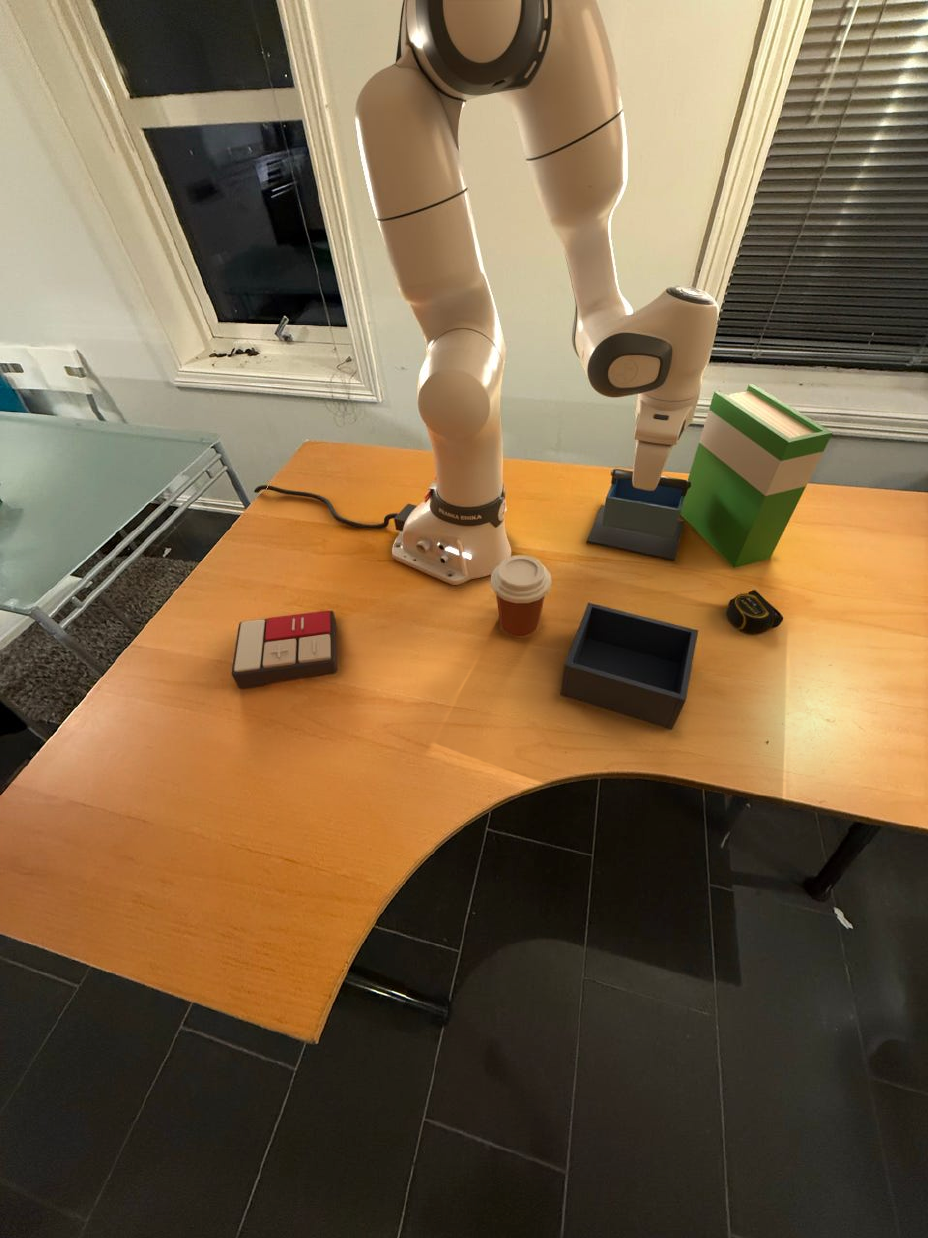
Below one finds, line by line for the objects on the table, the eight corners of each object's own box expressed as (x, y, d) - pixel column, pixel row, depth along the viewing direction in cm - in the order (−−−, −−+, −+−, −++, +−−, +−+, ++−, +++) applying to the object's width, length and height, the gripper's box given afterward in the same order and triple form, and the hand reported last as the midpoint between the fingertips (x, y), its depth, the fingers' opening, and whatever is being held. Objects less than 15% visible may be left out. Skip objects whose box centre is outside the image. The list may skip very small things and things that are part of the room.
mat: (586, 542, 99) (586, 540, 98) (601, 507, 106) (601, 504, 106) (674, 562, 94) (675, 559, 94) (683, 523, 101) (684, 520, 101)
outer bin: (559, 697, 76) (564, 665, 70) (582, 635, 84) (588, 602, 78) (671, 732, 71) (685, 700, 66) (684, 663, 79) (698, 630, 73)
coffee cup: (497, 649, 82) (497, 595, 74) (486, 608, 89) (484, 554, 80) (553, 640, 83) (560, 586, 74) (538, 600, 89) (543, 545, 80)
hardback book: (678, 511, 104) (714, 391, 86) (711, 504, 105) (753, 383, 87) (733, 568, 92) (788, 442, 74) (770, 558, 93) (833, 432, 76)
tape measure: (779, 631, 82) (789, 615, 79) (741, 642, 81) (750, 626, 78) (750, 602, 87) (758, 585, 84) (714, 612, 85) (721, 596, 83)
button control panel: (333, 658, 78) (229, 672, 76) (338, 675, 81) (238, 689, 80) (332, 606, 86) (237, 618, 84) (337, 624, 89) (245, 636, 87)
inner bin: (598, 524, 96) (605, 482, 90) (610, 495, 102) (617, 455, 96) (675, 539, 92) (688, 497, 86) (683, 509, 98) (695, 467, 92)
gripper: (656, 377, 89) (641, 451, 99) (632, 434, 77) (617, 512, 87) (695, 381, 87) (675, 456, 97) (677, 441, 75) (656, 520, 85)
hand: (648, 483), depth 92 cm, fingers closed on inner bin
